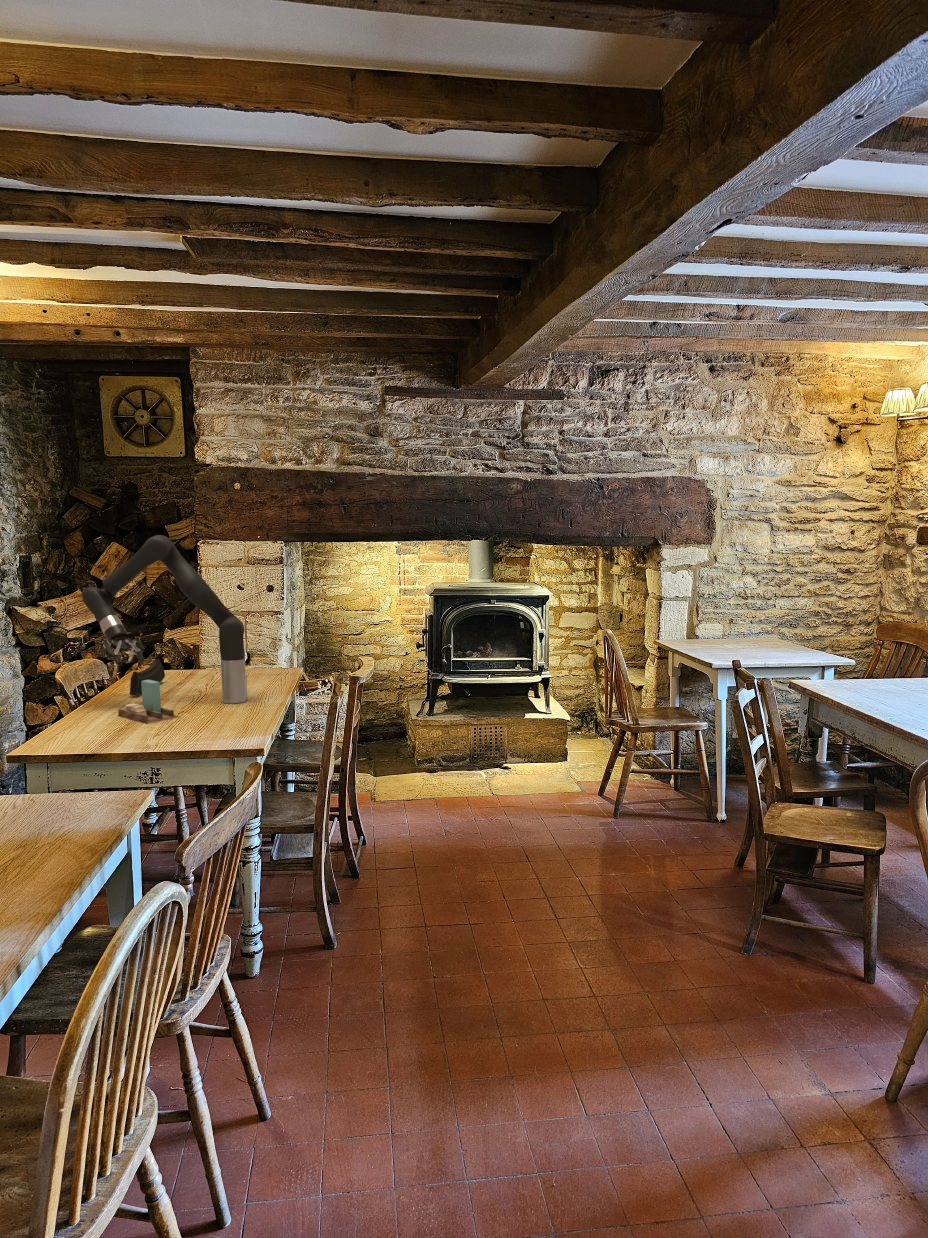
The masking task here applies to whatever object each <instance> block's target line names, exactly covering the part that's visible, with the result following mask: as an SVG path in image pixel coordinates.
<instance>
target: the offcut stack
mask: <svg viewBox="0 0 928 1238" xmlns="http://www.w3.org/2000/svg"><path fill="white" fill-rule="evenodd" d="M125 710H126V711H130V712H133V713H137V714H141V715H144V716H147V714H146V710H144V706H143V704H138V703H130V704H125Z"/></svg>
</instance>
